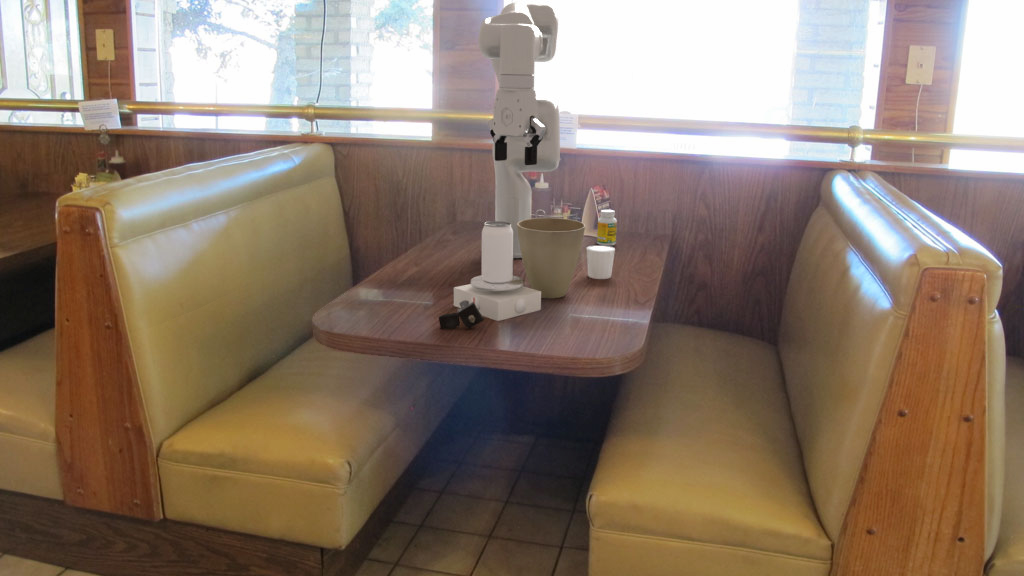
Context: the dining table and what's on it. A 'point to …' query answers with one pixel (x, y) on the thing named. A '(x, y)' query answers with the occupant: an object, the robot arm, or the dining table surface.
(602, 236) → the supplement bottle
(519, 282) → the scale pan
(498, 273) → the can
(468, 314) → the lighter
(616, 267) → the dining table surface
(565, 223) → the plant pot
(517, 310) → the scale housing
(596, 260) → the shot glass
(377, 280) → the dining table surface
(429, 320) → the dining table surface
